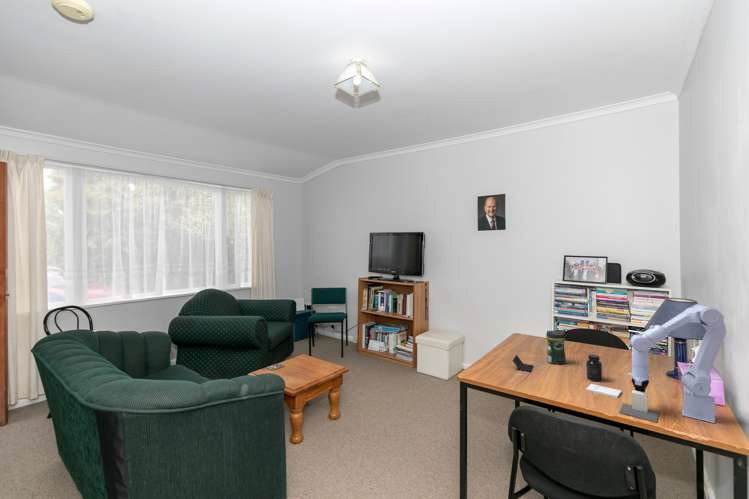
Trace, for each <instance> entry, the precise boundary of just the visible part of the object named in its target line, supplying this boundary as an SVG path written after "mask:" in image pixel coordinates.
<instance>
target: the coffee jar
mask: <svg viewBox="0 0 749 499" xmlns="http://www.w3.org/2000/svg"><path fill="white" fill-rule="evenodd" d="M545 336H546V340H547V351H546V361H547V362H548V364H552V365H564V364H566V363H567V360H566V353H565V351H566V350H565V341H566V335H565V332H564V331H562V330H547V331H546V334H545Z"/></svg>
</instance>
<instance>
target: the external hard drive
mask: <svg viewBox="0 0 749 499" xmlns="http://www.w3.org/2000/svg"><path fill="white" fill-rule="evenodd" d="M585 390H586V391H588V392H592V393H596V394H599V395H604V396H607V397H612V398H614V399H615V398H616V399H618V398H620V396H621V395H622V393H623V391H622V390H620V389H616V388H611V387H607V386H603V385H599V384H595V383H594V384H593V383H590V384H589V385H588V387H586V389H585Z"/></svg>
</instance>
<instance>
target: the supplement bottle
mask: <svg viewBox="0 0 749 499" xmlns="http://www.w3.org/2000/svg"><path fill="white" fill-rule="evenodd" d="M587 357H588V360H586V361H585V362H586V379H587V380H589V381H591V382H597V383H598V382H602V381H603V363H602V361H600V360H601V359H600V356H599V355H597V354H588V356H587Z"/></svg>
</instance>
